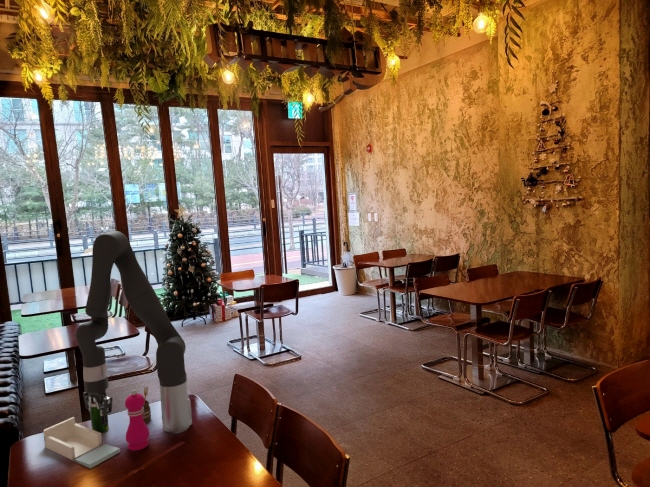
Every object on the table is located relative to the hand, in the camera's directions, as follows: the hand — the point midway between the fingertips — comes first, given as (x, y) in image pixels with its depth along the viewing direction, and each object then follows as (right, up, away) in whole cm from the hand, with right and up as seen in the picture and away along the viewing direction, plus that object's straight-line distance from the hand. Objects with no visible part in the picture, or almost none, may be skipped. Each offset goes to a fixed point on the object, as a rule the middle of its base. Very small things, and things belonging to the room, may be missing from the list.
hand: (99, 422), depth 157 cm
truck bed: (-4, -5, -9) cm, 11 cm away
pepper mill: (+18, -5, -10) cm, 21 cm away
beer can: (0, -4, 0) cm, 4 cm away
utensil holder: (+12, -3, +8) cm, 15 cm away
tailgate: (+4, -4, -14) cm, 15 cm away
